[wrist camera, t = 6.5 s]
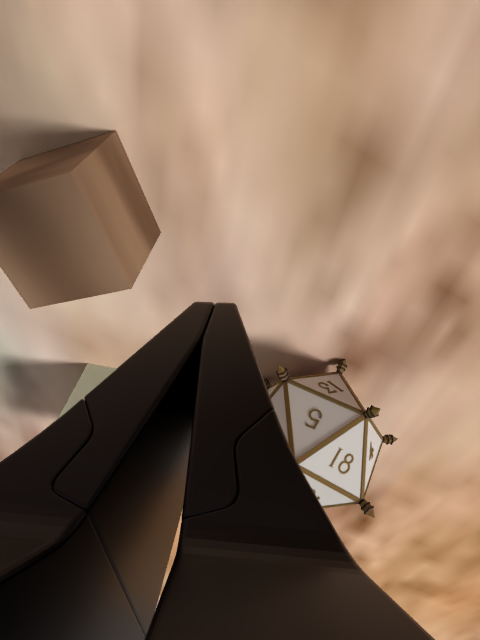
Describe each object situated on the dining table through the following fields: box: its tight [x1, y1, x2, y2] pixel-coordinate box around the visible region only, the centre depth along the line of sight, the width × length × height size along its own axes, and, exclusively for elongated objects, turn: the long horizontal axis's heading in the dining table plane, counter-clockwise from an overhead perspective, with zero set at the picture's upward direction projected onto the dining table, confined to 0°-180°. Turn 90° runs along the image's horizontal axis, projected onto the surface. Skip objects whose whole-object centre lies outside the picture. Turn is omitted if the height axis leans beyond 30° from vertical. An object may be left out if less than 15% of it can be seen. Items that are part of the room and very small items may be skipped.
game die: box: [264, 359, 397, 518], centre depth 25 cm, size 9×8×10 cm
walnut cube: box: [0, 131, 161, 309], centre depth 20 cm, size 5×5×5 cm
